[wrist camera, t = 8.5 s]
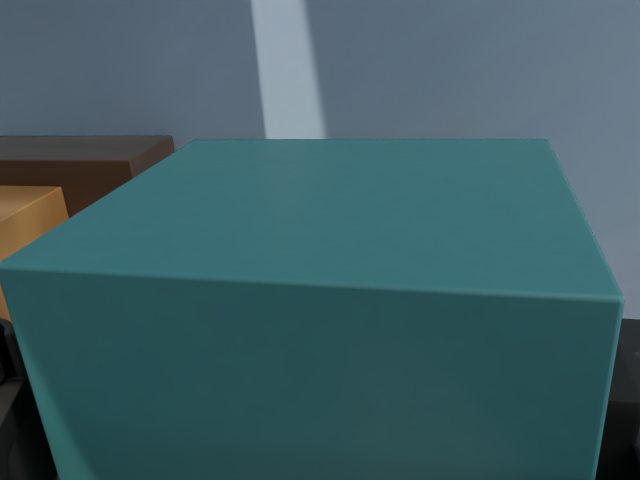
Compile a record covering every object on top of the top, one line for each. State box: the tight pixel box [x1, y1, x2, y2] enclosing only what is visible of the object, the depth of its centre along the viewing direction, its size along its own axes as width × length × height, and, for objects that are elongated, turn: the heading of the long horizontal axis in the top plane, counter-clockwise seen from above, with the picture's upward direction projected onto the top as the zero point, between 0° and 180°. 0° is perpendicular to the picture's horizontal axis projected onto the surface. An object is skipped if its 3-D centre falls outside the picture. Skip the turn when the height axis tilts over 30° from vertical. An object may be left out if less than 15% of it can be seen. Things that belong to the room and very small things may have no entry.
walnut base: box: [0, 136, 174, 218], centre depth 26 cm, size 11×11×4 cm
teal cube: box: [0, 139, 625, 480], centre depth 10 cm, size 7×7×6 cm
